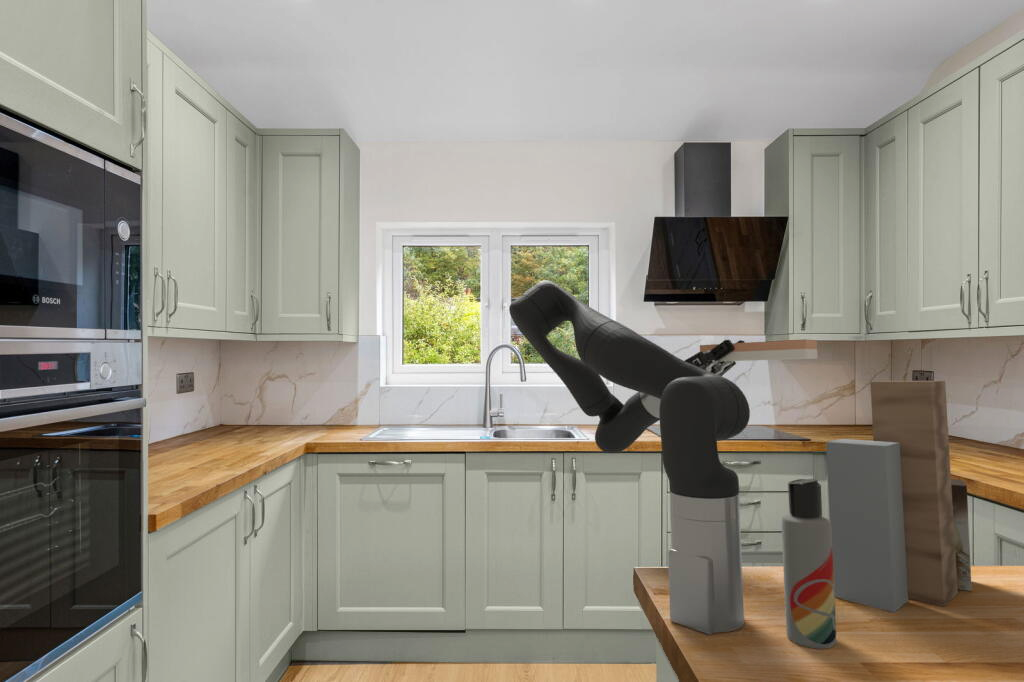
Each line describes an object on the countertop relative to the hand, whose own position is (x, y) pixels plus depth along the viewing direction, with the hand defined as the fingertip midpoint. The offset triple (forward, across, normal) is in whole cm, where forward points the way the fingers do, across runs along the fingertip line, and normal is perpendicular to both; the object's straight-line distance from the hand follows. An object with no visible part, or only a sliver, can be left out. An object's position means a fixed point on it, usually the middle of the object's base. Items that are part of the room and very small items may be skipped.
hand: (738, 344), depth 104 cm
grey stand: (-3, 0, +43) cm, 43 cm away
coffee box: (+1, +16, +45) cm, 48 cm away
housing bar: (+1, 0, +4) cm, 4 cm away
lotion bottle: (-2, -20, +44) cm, 48 cm away
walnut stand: (+1, +8, +45) cm, 46 cm away
